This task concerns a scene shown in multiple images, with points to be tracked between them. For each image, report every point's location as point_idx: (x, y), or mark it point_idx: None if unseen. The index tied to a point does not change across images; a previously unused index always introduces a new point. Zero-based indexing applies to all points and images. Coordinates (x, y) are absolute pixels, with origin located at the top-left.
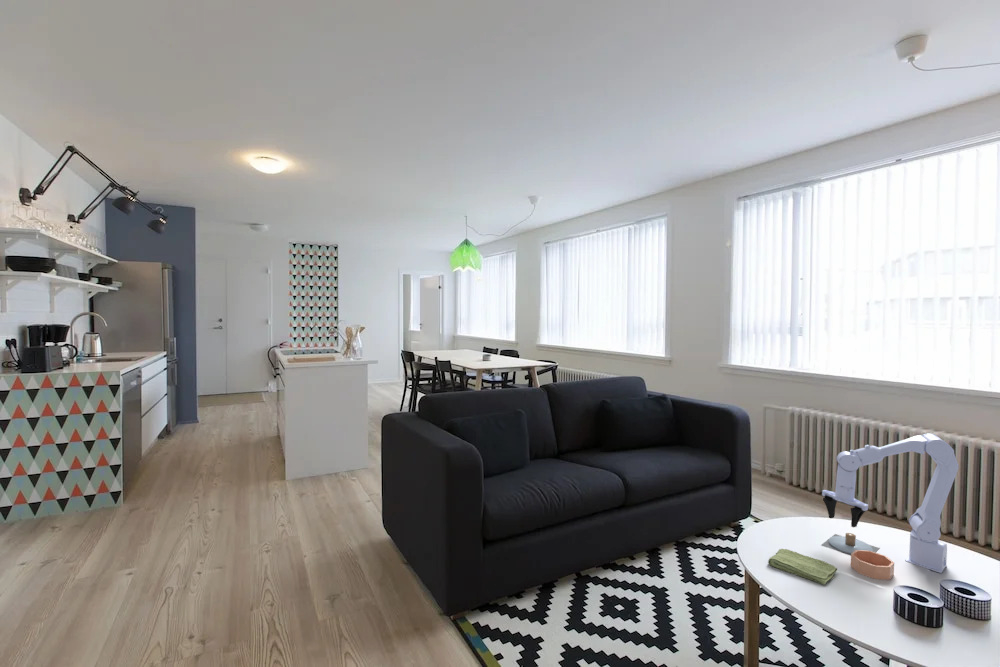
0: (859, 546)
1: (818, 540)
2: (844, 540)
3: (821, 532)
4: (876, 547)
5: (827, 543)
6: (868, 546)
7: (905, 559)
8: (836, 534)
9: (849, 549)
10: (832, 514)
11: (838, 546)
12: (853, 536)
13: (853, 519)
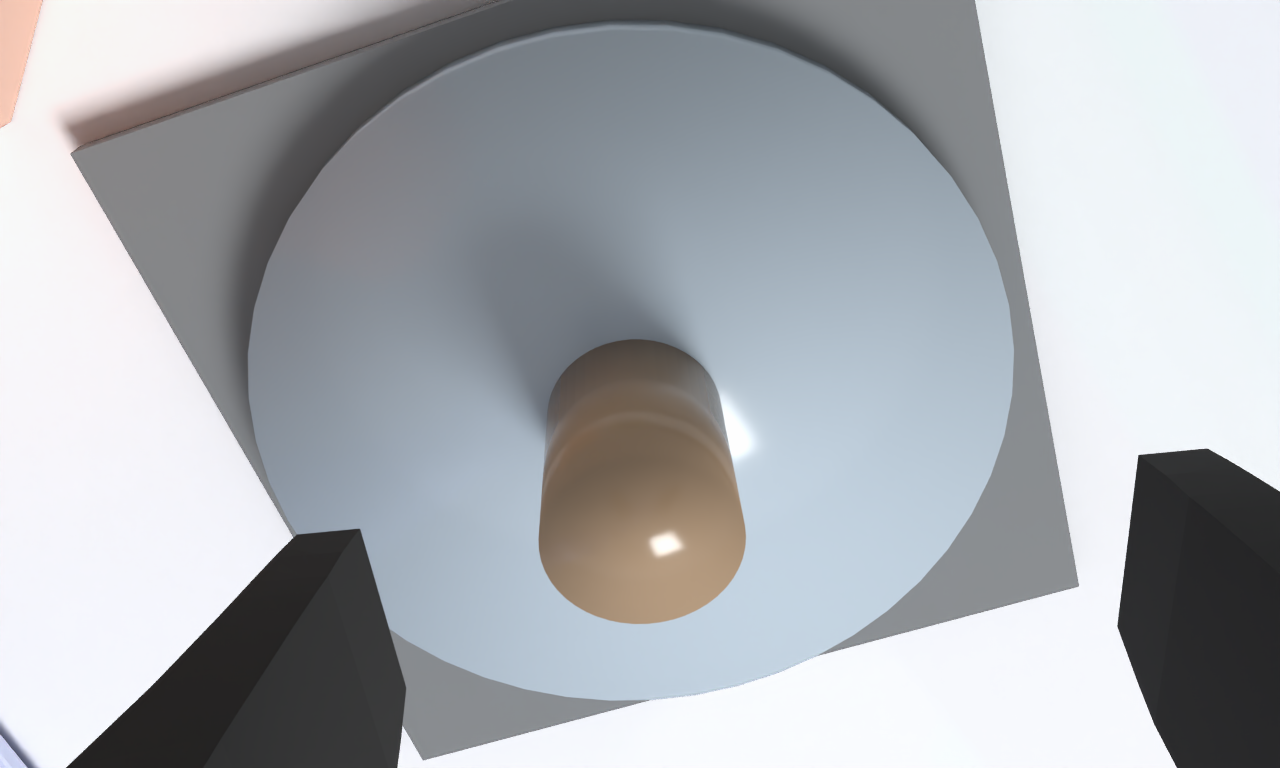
0: (511, 496)
1: (1127, 70)
2: (794, 463)
3: (1271, 448)
4: (456, 737)
5: (919, 80)
6: (458, 628)
7: (6, 760)
8: (1054, 586)
9: (476, 200)
10: (1191, 638)
11: (663, 101)
12: (552, 525)
13: (134, 751)
